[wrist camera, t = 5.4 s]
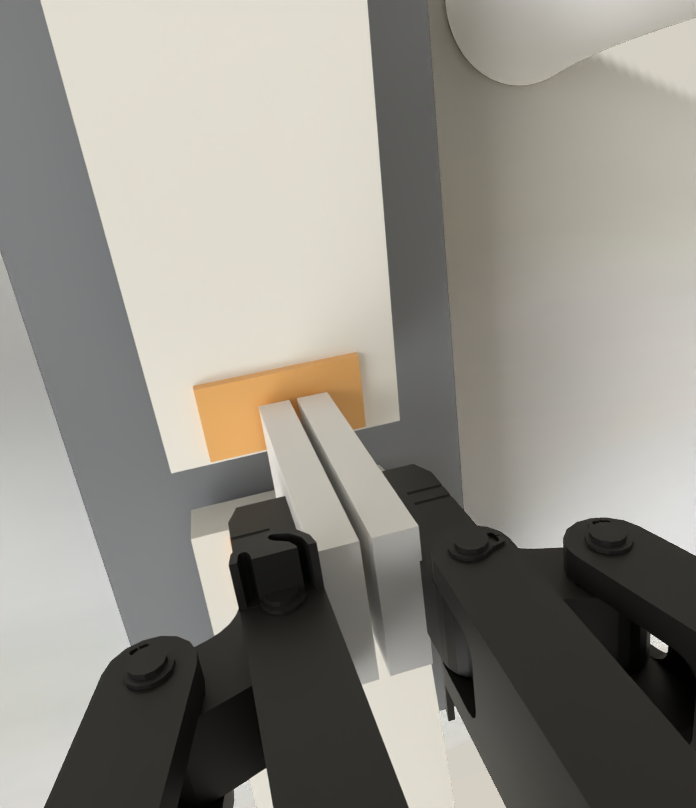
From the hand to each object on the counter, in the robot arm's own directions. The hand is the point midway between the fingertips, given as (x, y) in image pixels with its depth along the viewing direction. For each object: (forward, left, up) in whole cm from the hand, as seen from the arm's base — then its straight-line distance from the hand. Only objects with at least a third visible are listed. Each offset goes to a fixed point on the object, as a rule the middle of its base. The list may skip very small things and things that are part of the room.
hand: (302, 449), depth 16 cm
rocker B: (0, +6, -3) cm, 6 cm away
